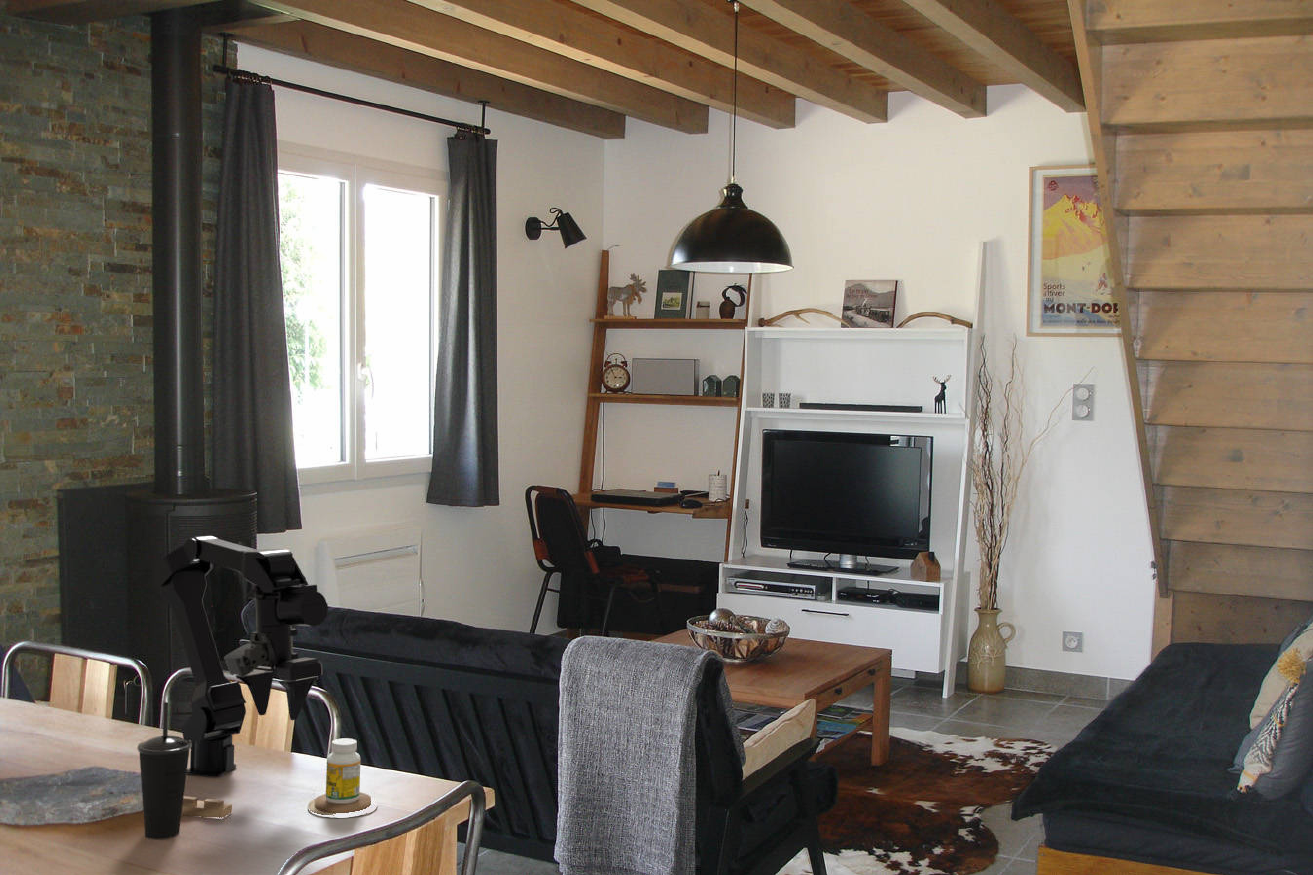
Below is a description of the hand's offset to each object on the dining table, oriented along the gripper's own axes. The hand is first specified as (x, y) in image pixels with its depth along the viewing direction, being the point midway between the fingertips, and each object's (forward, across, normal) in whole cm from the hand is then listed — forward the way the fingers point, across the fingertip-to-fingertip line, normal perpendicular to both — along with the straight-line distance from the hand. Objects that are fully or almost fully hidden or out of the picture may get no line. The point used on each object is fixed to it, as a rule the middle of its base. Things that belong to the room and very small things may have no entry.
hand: (277, 717), depth 209 cm
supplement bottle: (+13, +13, +3) cm, 18 cm away
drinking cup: (+13, +4, -24) cm, 27 cm away
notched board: (+12, +1, -15) cm, 19 cm away
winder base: (+14, +13, +3) cm, 19 cm away
